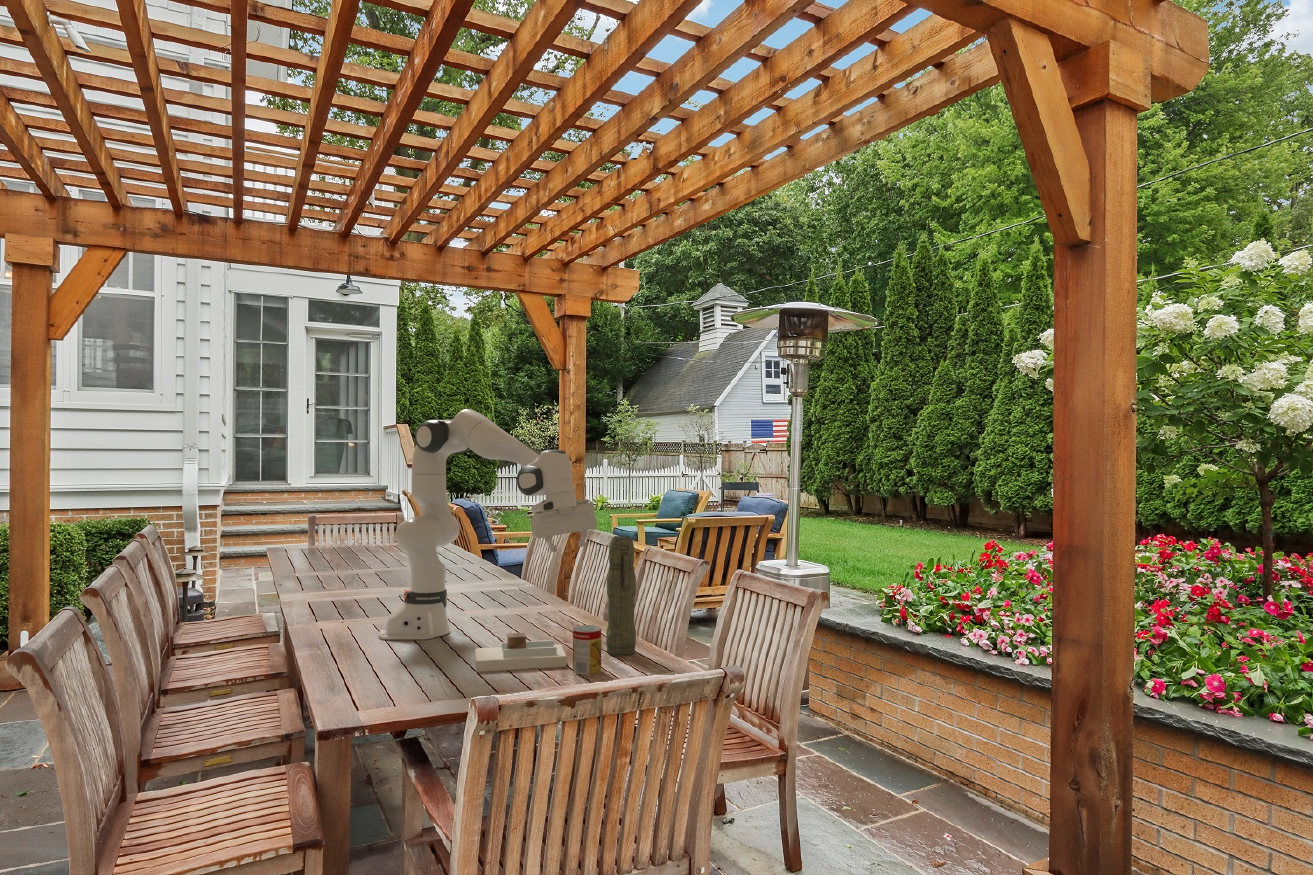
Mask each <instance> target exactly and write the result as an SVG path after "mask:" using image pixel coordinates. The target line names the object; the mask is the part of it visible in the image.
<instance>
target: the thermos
mask: <svg viewBox="0 0 1313 875" xmlns="http://www.w3.org/2000/svg"><path fill="white" fill-rule="evenodd" d="M632 538H633V537H630V536H627V535H615V536H614V537H611V539H610V542H609V546H608V563H609V566H608V572H607V574H606V596H607V600H608V601H607V604H608V605H607V606H608V607H607V609H608V610H607V613H608V614H607V624H608V625H607V628H606V632H605V633H606V634H605V636H606V638H605V639H606V640H605V644H606V654H607V653H608V654H610V655H609V656H611V655H614V656H613V657H630V656H632V655H635V654H636V644H637V630H636V628H635V596H636V595H637V576H636V573H635V567H634V563H635V545H634V542H633V539H632ZM608 654H607V655H608Z"/></svg>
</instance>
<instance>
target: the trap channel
mask: <svg viewBox="0 0 1313 875" xmlns="http://www.w3.org/2000/svg"><path fill="white" fill-rule="evenodd" d="M474 650H475V652H474V653H475V654H474V658H475V659H474V660H475V661H474V662H475V672H476V673H482V672H496V671H497V672H499V671H513V670H515V671H517V670H516V669H518V670H529V669H528V668H536V669H548V668H549V669H551V668H553V669H554V668H565V667H566V668H567V655H566V652H565V650H564V648H563V646H562V644H559V643H558V644H556V643H555V642H554V639H547V640H546V639H545V640H544V639H543V640H526V648H517V649H507V642H506V641H505V642H501V647H496V646H495V647H481V648H479V647H477V648H475V649H474Z"/></svg>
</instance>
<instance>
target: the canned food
mask: <svg viewBox="0 0 1313 875" xmlns="http://www.w3.org/2000/svg"><path fill="white" fill-rule="evenodd" d="M573 672H574V673H576V674H575V675H577V674H581V675H580V676H583V675H589V676H595V675H598V674H600V673H601V672H602V627H601V626H598V625H591V624H590V625H589V624H588V625H587V624H584V625H583V624H582V625H578V626H574V627H573V628H572V673H573ZM574 673H573V674H574Z"/></svg>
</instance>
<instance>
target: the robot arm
mask: <svg viewBox="0 0 1313 875" xmlns="http://www.w3.org/2000/svg"><path fill="white" fill-rule="evenodd" d="M414 439H415V440H414V441H415V443H416V445H415V446H414V451H413V455H412V456H413V457H412V461H411V462H412V463H411V498H412V500H413V501H414V502H416V504H417V505H418V508H419V511H420V514H421V516H415V517H414V516H413V517H411V518H409V519H406V520H404V521H402V522H401V523H400V524H399V525H397V527H396V531H395V539H396V542H397V545H398V546H399V547H400V548H401V549H403V550H404V552H405V554H406V556H407V559H408V563H409V567H410V590H408V589H407V590H405V591H404V592H403V596H404V597H403V599H404V603H402V604H401V605H400V606H399V607H398V608H396V609H395V610H394V611H392V612H391V613H390V614H389V616H388V617H387V620H386V624H385V628H383V629H381V630H380V631H379V633H378V638H379V639H381V640H430V639H433V638H436V637H437V638H438V637H441V636H445V635H447V634H449V633H451V629H450V625H449V621H448V614H447V605H448V593H447V592H448V591H447V588H446V580H447V579H446V577H447V576H446V566H445V564H444V563H443V562H442V561H441V560H440V558H439V555H438V552H437V548H440V547H444V546H447V545H449V544H451V543H453V542H454V541H456V540H457V538H458V537H459V535H460V530H461V527H460V523H459V521H458V520H457V518H456V517H455V516H454V515H453V514H452V511H451V508H450V506H449V503H448V502H449V501H448V496H447V460H448V457H449V456H450V455H453V456H458V455H460V454H461V455H462V454H463V453H465V452H469V451H470V450H471V451H472V452H473V453H475V454H476V455H478V456H480V457H481V458H484V459H487V460H495V461H496V460H497V461H507V462H512V463H515V464H518V465H520V466H521V468H520V469H519V470H518V472H517V475H516V484H517V488H518V491H519V492H520V493H521V494H523V495H524V496H527V497H537V496H545V499H544V500H542V501H540V502H538V503H536V504H534V505H533V506H531V512H532V513H533V514H532V516H531V519H530V526H531V528H530V529H531V535H532V537H533V538H535V539H541V538H544V541H545V543H546V544H547V545H548V546H549V550H550V553H555V552H557V551H558V548H557V545H555V544H554V543H553V542H552V541H553V537H554V536H561V535H566V534H572V533H578V532H579V534H580V535H581V538H580V540H578V542H577V543H578V547H579V548H581V547H586V539H587V537H588V531H590V530H595V529H596V528H597V527H598V521H597V516H596V513H595V505H594V502H593V501H591V500H589V499H587V498H586V499H585V498H584V499H578V500H577V496H576V495H577V494H576V489H575V486H574V484H573V479H574V474H573V468H572V463H571V459H570V456H569V454H568V452H567V451H565V450H562V449H546V450H543V451H541V453H539V452H538V451H537V450H535V449H534V448H532V447H530V446H529V445H528V444H525V443H524V442H522V441H520V440H519V439H517V438H516V437H515V436H513V435H511V434H509V433H508V432H506V431H505V430H504V429H502V428H501V427H500V426H498V425H497V424H496V423H494V422H493V421H492V420H491V419H489V418H488V417H486V416H485V415H483V414H482V413H480V412H478V411H475V410H473V409H471V408H466V409H463V410H460V411H458V412H457V413H456V415H454V417H453V419H431V420H425V421H424V422H421V423H420V424H419V425H418V426H417V427H416V430H415V434H414Z"/></svg>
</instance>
